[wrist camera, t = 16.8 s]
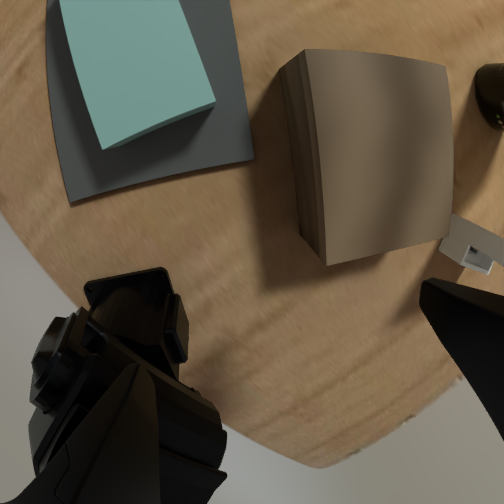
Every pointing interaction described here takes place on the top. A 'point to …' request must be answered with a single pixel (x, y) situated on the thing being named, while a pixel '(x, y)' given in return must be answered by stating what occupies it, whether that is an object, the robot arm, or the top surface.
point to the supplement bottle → (491, 94)
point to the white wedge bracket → (472, 245)
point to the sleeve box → (369, 151)
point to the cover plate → (135, 65)
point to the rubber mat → (162, 139)
